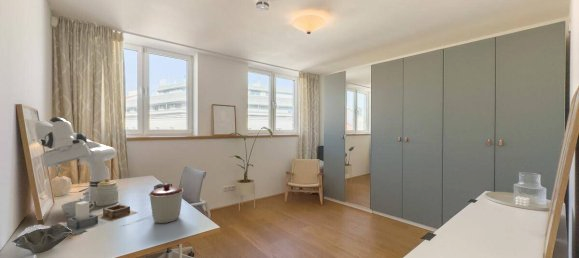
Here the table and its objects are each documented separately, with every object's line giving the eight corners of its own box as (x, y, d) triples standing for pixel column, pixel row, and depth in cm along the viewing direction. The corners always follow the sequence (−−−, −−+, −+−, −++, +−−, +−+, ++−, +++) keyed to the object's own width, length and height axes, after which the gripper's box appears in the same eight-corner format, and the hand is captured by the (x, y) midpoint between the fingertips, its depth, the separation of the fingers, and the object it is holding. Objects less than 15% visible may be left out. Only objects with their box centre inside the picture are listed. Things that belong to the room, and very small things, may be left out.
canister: (144, 228, 127) (143, 188, 127) (153, 215, 145) (153, 181, 144) (181, 224, 132) (180, 186, 132) (186, 212, 149) (185, 179, 149)
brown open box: (94, 217, 142) (94, 209, 142) (121, 209, 155) (121, 202, 155) (111, 223, 134) (111, 214, 134) (138, 214, 147) (138, 206, 147)
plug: (75, 225, 128) (75, 203, 128) (84, 222, 132) (84, 200, 132) (80, 227, 126) (80, 204, 126) (89, 224, 130) (89, 202, 130)
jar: (98, 201, 172) (98, 177, 171) (120, 199, 177) (120, 175, 177) (92, 207, 160) (92, 181, 160) (116, 204, 165) (116, 179, 165)
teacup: (62, 222, 135) (62, 208, 135) (60, 216, 143) (60, 203, 143) (96, 214, 146) (96, 201, 146) (92, 210, 154) (92, 197, 154)
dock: (56, 228, 126) (56, 219, 126) (90, 218, 140) (90, 210, 140) (73, 235, 119) (73, 225, 119) (107, 224, 132) (107, 215, 132)
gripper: (38, 150, 129) (42, 173, 126) (84, 138, 138) (89, 160, 134) (45, 153, 135) (49, 176, 131) (89, 142, 143) (94, 163, 140)
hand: (70, 168), depth 133 cm, fingers open, 8 cm apart
